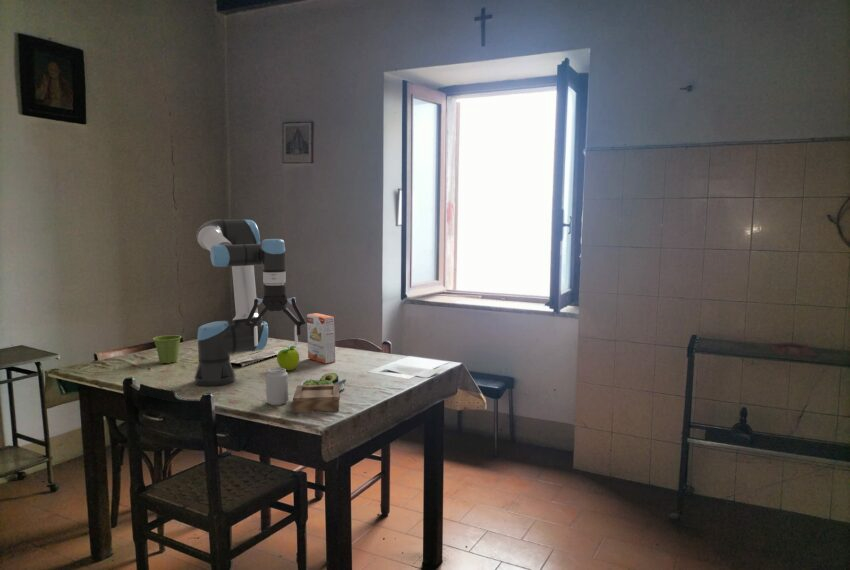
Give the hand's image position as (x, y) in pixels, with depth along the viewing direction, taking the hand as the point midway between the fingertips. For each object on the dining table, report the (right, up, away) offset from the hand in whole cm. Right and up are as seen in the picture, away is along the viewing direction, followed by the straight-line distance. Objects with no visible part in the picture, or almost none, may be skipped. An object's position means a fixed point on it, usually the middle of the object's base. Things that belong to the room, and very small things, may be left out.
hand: (276, 344), depth 208 cm
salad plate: (+13, -19, +21) cm, 31 cm away
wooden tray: (+14, -21, 0) cm, 25 cm away
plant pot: (-64, -14, +61) cm, 89 cm away
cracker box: (+5, -14, +64) cm, 65 cm away
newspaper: (-25, -14, +68) cm, 73 cm away
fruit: (-7, -16, +48) cm, 50 cm away
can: (0, -21, +2) cm, 21 cm away
